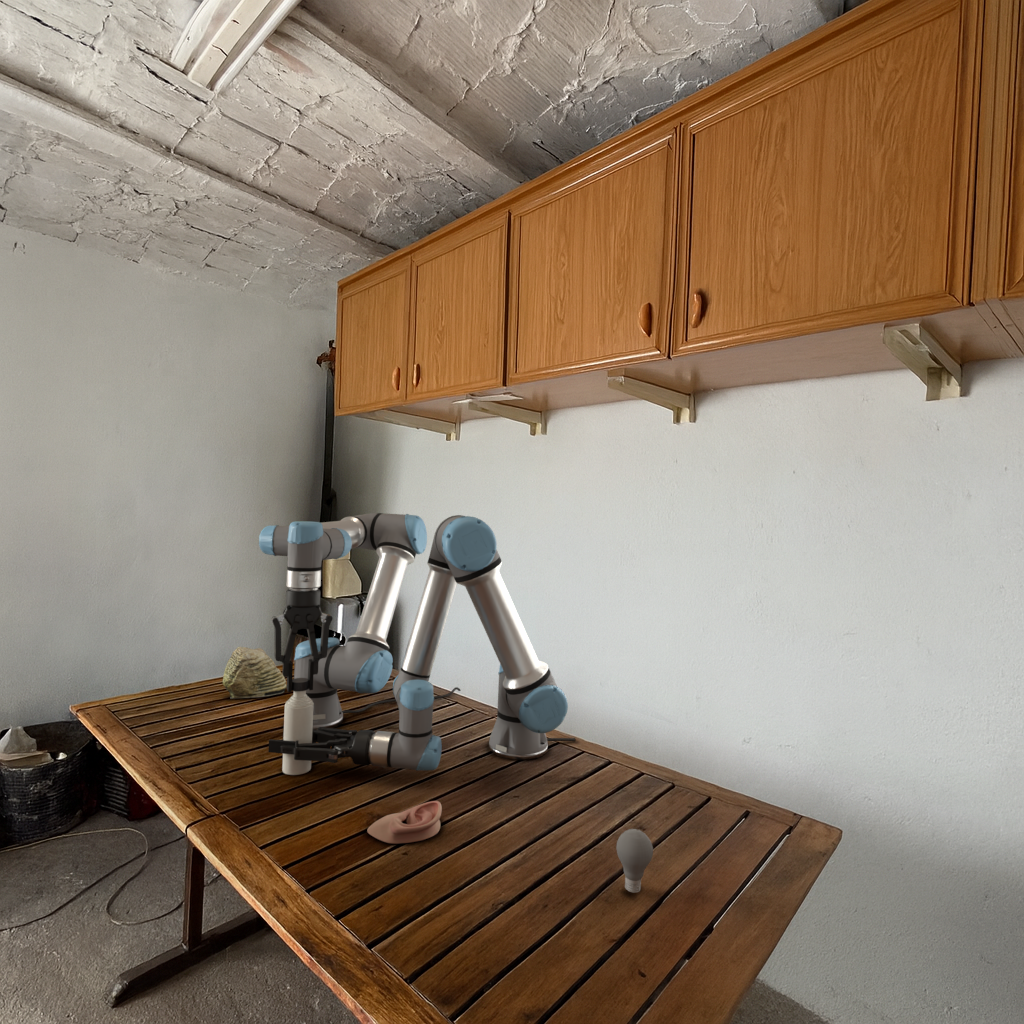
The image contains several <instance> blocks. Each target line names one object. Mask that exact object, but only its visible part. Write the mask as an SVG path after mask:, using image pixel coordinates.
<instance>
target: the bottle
mask: <svg viewBox="0 0 1024 1024" xmlns="http://www.w3.org/2000/svg"><path fill="white" fill-rule="evenodd" d="M292 692H293V694H291V696H290V697H289V699H287V700H286V701H285V704H284V714H283V715H284V716H283V729H284V738H283V737H282V740H286V741H297V740H299V741H298V744H302V743H312V730H313V704H314V703H313V701H312V700H311V699H310V698H309V697H308V696H307V695H306V690H305V691H292ZM281 766H282V767H281V770H282V771H281V772H282V773H283V774H285V775H290V776H299V775H303V774H306V773H308V772H309V771H311V769H312V761H307V760H294V754H282V765H281Z"/></svg>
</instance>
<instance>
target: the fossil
mask: <svg viewBox="0 0 1024 1024" xmlns="http://www.w3.org/2000/svg"><path fill="white" fill-rule="evenodd" d="M222 676H223V677H222V685H223V687H224V688H225V690H226V691H228V693H229V698H230V699H250V698H264V697H271V696H275V695H281V694H284V693H285V691H286V690H287V679H286V677H284V676H283V674H282V672H281V669H279V668H278V667H277V665H276V663H275V662H274V660H273V659H272V658H271V657H270V656H269V655H268V654H267V653H266V652H265V650H264V649H263V648H260V647H258V648H251V647H247V646H246V647H245V646H238V647H237V648H236V649H235V650H233V651H232V653H231V656H230V657H229V659H228V660H227V663H226V666H225V668H224V671H223V675H222Z"/></svg>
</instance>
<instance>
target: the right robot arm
mask: <svg viewBox="0 0 1024 1024" xmlns="http://www.w3.org/2000/svg"><path fill="white" fill-rule="evenodd" d="M497 544H498V543H497V538H496V534H495V533H494V531H493V529H492V528H491V526H490V525H489V524H488V523H486V522H485V521H483V520H482V519H480V518H478V517H475V516H470V515H462V514H456V515H451V516H448V517H447V518H445V519H444V520H442V521H441V522H440V523H439V524H438V526H437V527H436V529H435V532H434V535H433V539H432V543H431V547H430V552H429V556H428V559H427V562H426V565H427V566H428V568H429V570H428V574H427V577H426V581H425V584H424V587H423V590H422V594H421V597H420V600H419V604H418V608H417V611H416V614H415V618H414V622H413V625H412V627H411V632H410V634H409V638H408V641H407V645H406V648H405V651H404V654H403V659H402V662H401V666H400V669H399V671H398V674H397V675H396V677H395V678H394V680H393V682H392V694H393V697H394V699H396V701H395V702H396V704H397V708H398V717H399V719H398V732H397V731H396V732H394V731H387V730H386V731H385V730H377V731H375V730H368V729H359V730H357V729H341V728H325V727H318V730H316V729H314V730H312V743H302V744H298V741H299V740H297V741H286V740H283V738H284V728H283V729H282V739H272V738H270V739H269V740H268V747H267V748H268V750H267V753H273V754H282V755H283V754H294V760H307V761H311V762H327V763H332V764H337V763H338V762H339V758H340V759H342V758H344V759H345V758H350V759H351V760H352V763H353V764H354V765H357V766H370V765H371V766H373V767H381V768H382V769H387V768H390V769H391V768H393V769H403V770H412V771H416V772H417V771H423V772H424V771H426V772H427V771H428V772H429V771H435V770H437V768H438V767H439V765H440V762H441V757H442V751H443V747H442V746H443V744H442V738H441V736H438V735H435V734H433V715H434V701H435V699H434V684H433V683H432V682H430V677H431V674H432V670H433V667H434V663H435V661H436V657H437V653H438V649H439V646H440V644H441V641H442V636H443V633H444V630H445V626H446V624H447V620H448V616H449V612H450V609H451V606H452V603H453V599H454V596H455V593H456V589H457V586H458V585H460V586H463V587H465V589H466V591H467V593H468V596H469V598H470V601H471V603H472V604H473V607H474V609H475V611H476V614H477V615H478V618H479V620H480V623H481V625H482V626H483V629H484V631H485V633H486V636H487V638H488V640H489V642H490V645H491V646H492V649H493V651H494V654H495V656H496V658H497V660H498V662H499V670H498V673H497V674H498V687H497V712H496V716H497V717H496V720H495V723H494V725H493V727H492V731H491V734H490V736H489V740H488V749H489V751H490V752H491V753H493V754H495V755H496V756H498V757H501V758H504V759H509V760H521V761H525V760H526V761H527V760H533V759H539V758H540V757H543V756H545V755H546V754H547V752H548V747H549V744H548V743H549V742H576V738H575V737H547V735H546V734H547V733H550V732H552V731H554V730H556V729H557V728H558V727H559V726H560V725H561V724H562V723H563V722H564V720H565V718H566V716H567V713H568V709H569V703H568V699H567V696H566V694H565V692H564V691H563V689H561V688H560V687H559V686H558V684H557V683H556V681H555V678H554V675H553V674H552V672H551V670H550V667H549V664H548V663H547V662H545V661H542V660H539V657H538V655H537V654H536V651H535V649H534V646H533V644H532V643H531V639H530V638H529V636H528V633H527V631H526V629H525V626H524V624H523V621H522V620H521V618H520V616H519V615H520V614H519V613H518V611H517V608H516V606H515V604H514V602H513V600H512V597H511V595H510V593H509V590H508V588H507V586H506V583H505V582H504V579H503V577H502V575H501V572H500V570H501V567H502V565H503V560H502V558H501V556H500V553H499V551H498V547H497V546H498V545H497Z"/></svg>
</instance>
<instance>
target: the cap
mask: <svg viewBox="0 0 1024 1024" xmlns="http://www.w3.org/2000/svg"><path fill="white" fill-rule="evenodd" d="M308 689H309V679H307V678H295V679H294V678H292V692H293V691H305V690H308Z"/></svg>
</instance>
